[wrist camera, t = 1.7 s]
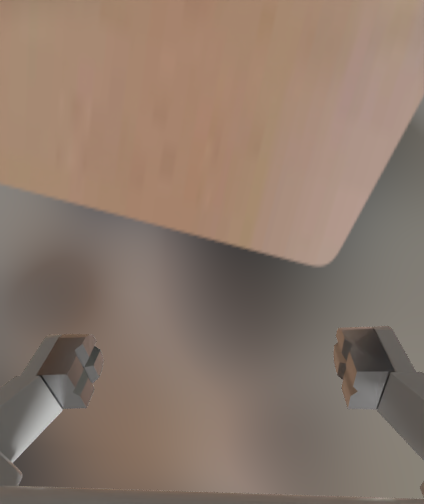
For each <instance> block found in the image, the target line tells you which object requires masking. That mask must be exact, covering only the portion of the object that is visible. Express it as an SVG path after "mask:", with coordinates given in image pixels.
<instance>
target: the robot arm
mask: <svg viewBox="0 0 424 504" xmlns="http://www.w3.org/2000/svg"><path fill="white" fill-rule="evenodd" d="M336 338H337V341H338V343H337V344H335V345H334V351H333V355H334V356H333V357H334V364H335V369H336V372H337V375H338V376H339V377H340V378H341V379H343V382H342V387H341V389H342V392H343V395H344V398H345V401H346V405H347V408H348V409H378V410H377V411H378V412H379V413H380V414H381V415H382V417H384V419H385V420H386V421H387V422H388V423H389V424H390V425H391V426H392V427H393V428H394V429H395V430H396V431H397V433H398V434H399V435H400V436H401V437H402V438H403V439H404V440H405V441H406V442H407V443H408V444H409V445H410V446H411V447H412V449H413V450H414V451H415V452H416V453H417V454H418V455H419V456H420V457H421V458H422V459H423V460H424V373H422V372H416V371H415V369H414V367H413V365H412V364H411V362H410V360H409V358H408V356H407V354H406V353H405V351H404V349H403V347H402V345H401V344H400V342H399V340H398V338H397V337H396V335H395V333H394V331H393V330H392V328H391V327H389V326H382V327H347V328H338V330H337V332H336ZM95 343H96V340H95V338H94V336H93V335H89V334H88V335H87V334H86V335H82V334H71V335H70V334H68V335H66V334H64V335H48V336H47V337H45V338H44V340H43V341H42V343H41V345H40V346H39V348H38V349H37V351H36V352H35V354H34V355H33V357H32V358H31V360H30V361H29V363H28V365H27V366H26V368H25V369H24V371H23V372H22V374H21V375H20V376H16V377H14V378H13V379H11V380H10V381H8V382H7V383H6V384H5V385H3V386H2V387H0V504H424V499H406V498H375V497H344V496H343V497H342V496H310V495H282V494H280V495H279V494H249V493H218V492H188V491H187V492H186V491H157V490H156V491H155V490H154V491H153V490H125V489H93V488H61V487H29V486H18V485H19V483H20V481H21V479H22V472H21V471H20V470H19V469H18V468H17V467H16V466H15V465H14V464H13V462H14V461H15V460H16V459H17V458H18V457H19V456H20V455H21V454H22V452H23V451H24V450H25V449H26V448H27V447H28V446H29V445H30V444H31V443H32V442H33V441H34V440H35V439H36V438H37V437H38V436H39V435H40V434H41V432H42V431H43V430H44V429H45V428H46V427H47V426H48V425H49V424H50V423H51V422H52V421H53V420H54V419H55V418H56V417H57V416H58V415H59V413H61V411H62V409H68V408H70V409H71V408H87V406H88V404H89V402H90V399H91V397H92V394H93V392H94V386H93V382H95V381H96V380H97V379H98V378H99V377H100V374H101V372H102V367H103V355H102V352H101V350H100V349H98V348H97V347H95ZM420 489H421V491H422V494H423V497H424V481H423V483H422V484H421V486H420Z"/></svg>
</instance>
